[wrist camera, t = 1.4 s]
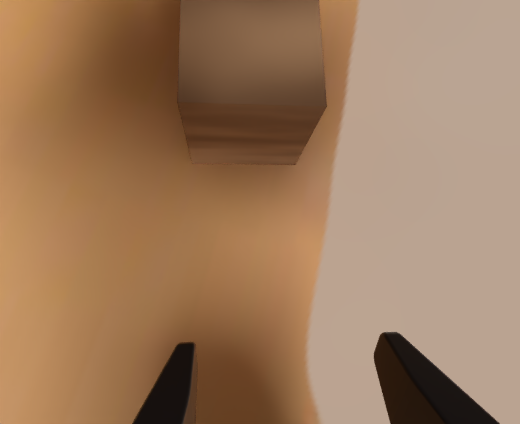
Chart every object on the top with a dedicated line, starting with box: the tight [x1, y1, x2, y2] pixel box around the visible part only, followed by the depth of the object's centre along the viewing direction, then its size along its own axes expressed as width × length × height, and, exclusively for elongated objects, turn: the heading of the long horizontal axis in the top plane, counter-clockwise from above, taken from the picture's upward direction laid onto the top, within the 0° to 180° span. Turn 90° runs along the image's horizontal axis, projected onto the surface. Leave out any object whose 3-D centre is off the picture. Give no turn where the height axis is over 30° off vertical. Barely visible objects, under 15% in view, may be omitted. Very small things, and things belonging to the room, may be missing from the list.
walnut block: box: [178, 0, 327, 165], centre depth 22 cm, size 14×7×8 cm, turn 1°
